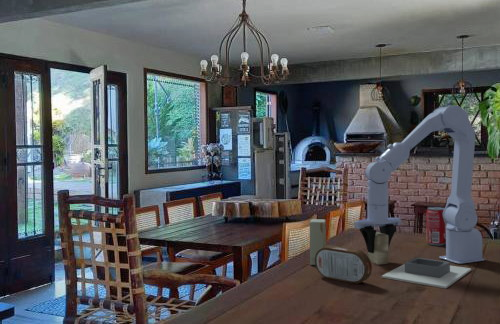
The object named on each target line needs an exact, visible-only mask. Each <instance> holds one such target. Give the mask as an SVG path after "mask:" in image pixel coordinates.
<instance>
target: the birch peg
mask: <svg viewBox="0 0 500 324" xmlns="http://www.w3.org/2000/svg"><path fill="white" fill-rule="evenodd" d="M367 256H368V257H369V259H370V261H371V263H373V264H375V263H376V264H375V265H385V264H386V265H387V264H389V250H388V235H386V234H383V233H380V232H378V231H376V235H375V241H374V253H369V252H368V251H367Z"/></svg>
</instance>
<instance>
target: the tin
mask: <svg viewBox="0 0 500 324" xmlns="http://www.w3.org/2000/svg"><path fill="white" fill-rule="evenodd" d="M314 266H315V268H316V270H317V272H318V273H319V275H321V276H322V277H323V278H325V279H328V280H335V281H339V282H343V283H348V282H349V284H353V283H355V284H356V285H357V284H360V283H362V282H365V281H366V280H368V279H369V278H370V276H371V274H372V271H373V266H372V262H371V261H370V259H369V257H368V254H367V253H366V252H364V251H363V250H361V249H358V248H354V247H347V246H339V245H334V244H326V246H324V247H323V248H321V249H319V250H318V251H317V253H316V255H315V265H314Z"/></svg>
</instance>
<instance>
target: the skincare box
mask: <svg viewBox="0 0 500 324" xmlns="http://www.w3.org/2000/svg"><path fill="white" fill-rule="evenodd" d="M326 221H327V220H326V219H320V218H318V219H317V218H314V219H313V218H311V219H310V221H309V265H310V266H316V265H315V255H316V253H317V251H318V250H319V249H321V248H323V247H324V246H327V240H326V239H327V234H326V233H327V231H326V227H327V225H326V224H327V223H326Z"/></svg>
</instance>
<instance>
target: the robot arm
mask: <svg viewBox="0 0 500 324" xmlns="http://www.w3.org/2000/svg"><path fill="white" fill-rule="evenodd" d="M437 131H443V132H445V133H447V134H448V135H449V137H450V138H452V139H453V140H454V143H453V144H454V145H453V157H452V158H453V160H452V174H451V186H450V195H448V198H447V200H446V205H445V207H444V208H445V209H444V211H443V219H444V220H445V222H446V243H445V255H441V256H440V255H439V257H438V258H439V259H442V260H443V261H445V260H446V261H447V262H450V263H455V264H458V265H459V264H460V265H462V264H467V263H469V264H470V263H475V262H484V261H485V260H486V259H485V258H484V257H483V236H482V234H481V232H480V230H478V229H477V228H475V226H476V225H477V223H478V215H477V213H476V210H475V209H476V208H475V207H476V204H475V201H474V200H473V198H472V187H473V186H472V184H473V171H474V159H475V157H474V156H475V147H476V146H475V145H476V132H475V130H474V128H473V125H472V124H471V121H470V119H469V112H467V111H466V110H465V109H463V108H462V107H461V106H459V105H456V104H453V105H449V106H440V107H437V108H435V109H434V110H433V111H432V112H431V113H429V114H428V115H427V116H426V117H425V118H424V119H422V121H420V122H419V124H418V125H417V126H416V127H415V128H414V129H413V130H412V131H411V132H410V133H409V134H408V135H407V136H406V137H405V138H404V139H403V140H402V141H401V142H393V144H392V143H389V144H388V145H387V146H386V148H387V149H386V150H385V151H383V153H381V154H380V156H376V157H375V159H374V160H375V161H374V162H373V161H372V162H370V163H369V164H367V166H366V168H365V171H364V176H365V178H366V179H367V189H366V190H367V192H366V193H367V196H366V197H367V198H366V201H367V203H366V204H367V218H364V219H360V220H354V221H353V228H354V229H357V230H359V232H360V233H361V235H362V237H363V241H364V242H365V245H366V251H367V253H368V252H369V253H374V241H375V235H376V232H377V229H374V228H376V227H378V229H379V231H380V232H379V233H383V234H386V235H388V251H389V249H390V245H391V241H392V240H393V239H392V238H393V237H394V235H395V233H396V232H397V226H402V217H397V216H395V217H389V187H388V185H389V184H388V183H389V180H390V178H391V177H392V173H393V172H395V171H396V170H397V169H398V168H399V167H400V166H401V165H402V164H403V163H405V161H407V160H408V159H409V157H410V152H411V150H412V149H413V148H414V147H416V146H417V145H418V144H419V143H420V142H422V140H424V139H425V138H427V136H429V135H430V134H431V133H433V132H437Z"/></svg>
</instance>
